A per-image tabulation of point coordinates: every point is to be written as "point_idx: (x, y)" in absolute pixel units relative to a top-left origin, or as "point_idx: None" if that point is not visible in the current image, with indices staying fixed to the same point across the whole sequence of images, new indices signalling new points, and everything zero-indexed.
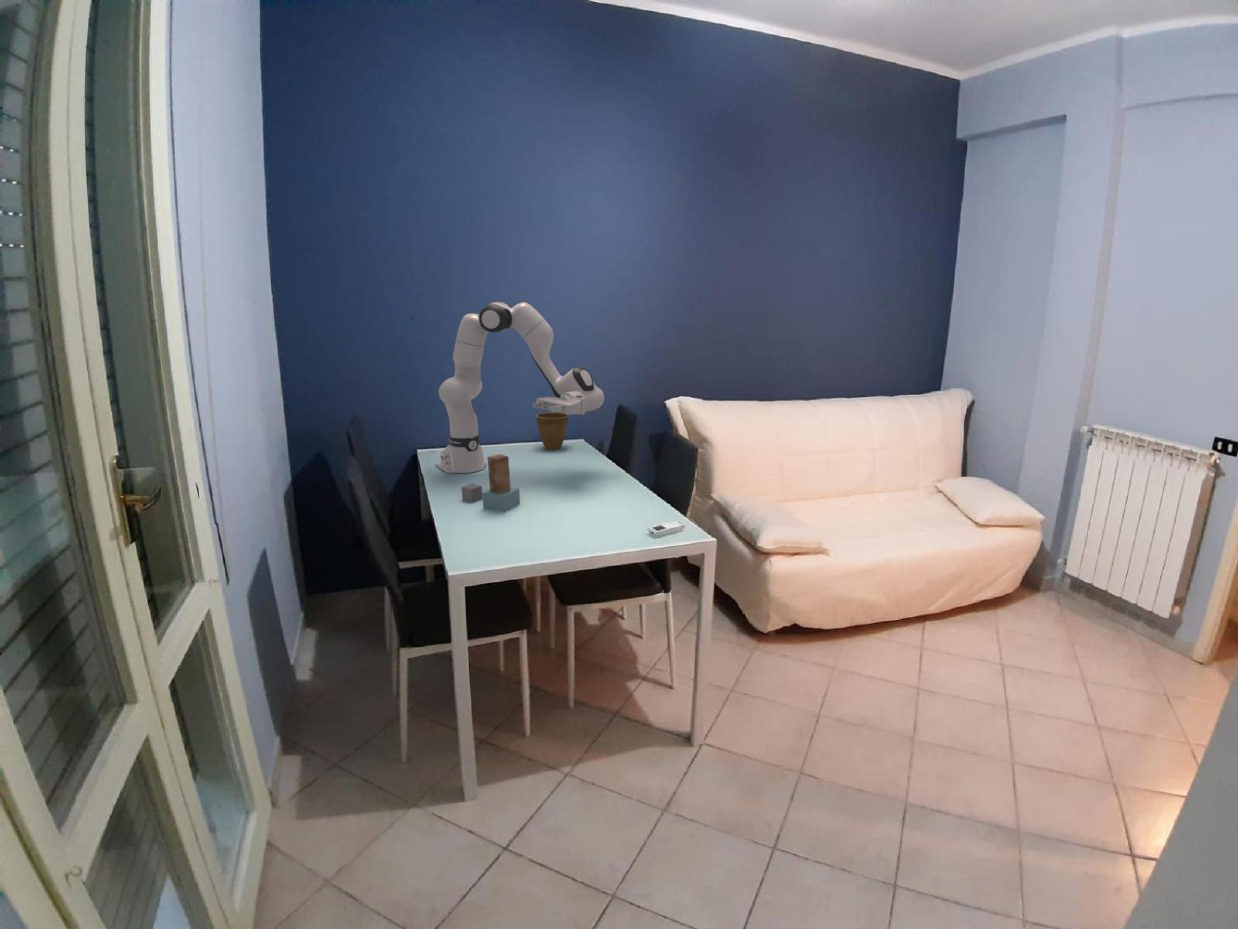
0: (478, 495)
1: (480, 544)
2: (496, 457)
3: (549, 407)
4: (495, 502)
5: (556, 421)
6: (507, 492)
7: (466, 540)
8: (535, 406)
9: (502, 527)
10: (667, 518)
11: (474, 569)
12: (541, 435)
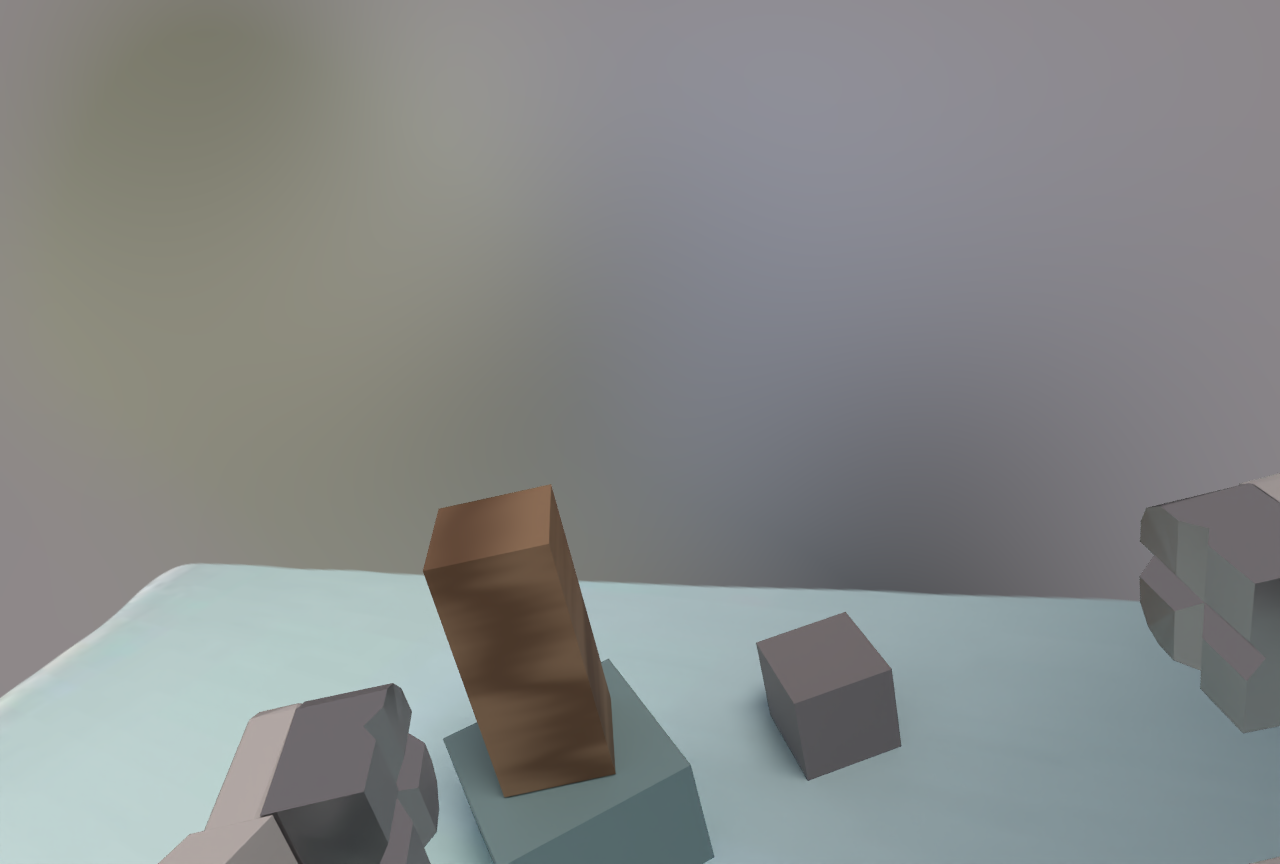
0: (788, 727)
1: (262, 642)
2: (482, 517)
3: (393, 687)
4: None
5: None
6: (485, 770)
7: (341, 614)
8: (1157, 561)
9: None
10: None
11: (141, 598)
12: None
